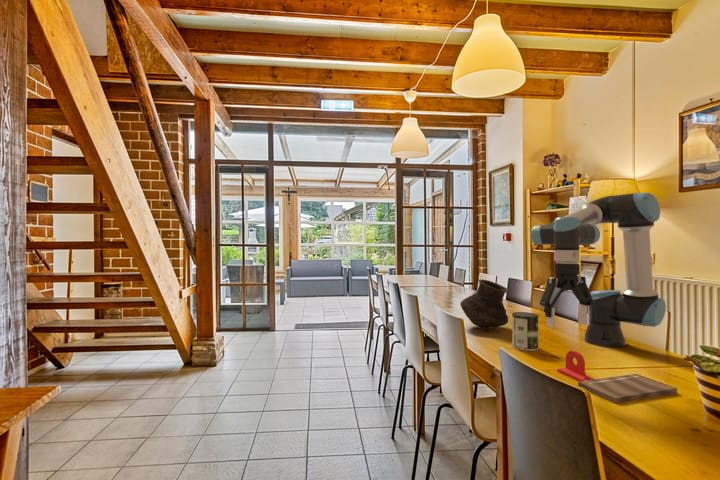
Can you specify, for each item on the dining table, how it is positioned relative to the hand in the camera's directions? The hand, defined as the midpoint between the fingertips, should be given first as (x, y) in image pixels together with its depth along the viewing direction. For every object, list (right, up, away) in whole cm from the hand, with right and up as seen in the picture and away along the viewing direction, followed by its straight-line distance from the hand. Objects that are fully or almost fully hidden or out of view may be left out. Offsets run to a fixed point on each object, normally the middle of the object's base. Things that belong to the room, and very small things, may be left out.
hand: (566, 325), depth 122 cm
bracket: (+2, -17, -3) cm, 17 cm away
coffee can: (0, -17, +31) cm, 35 cm away
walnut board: (+11, -17, -13) cm, 23 cm away
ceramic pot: (-6, -17, +65) cm, 67 cm away
